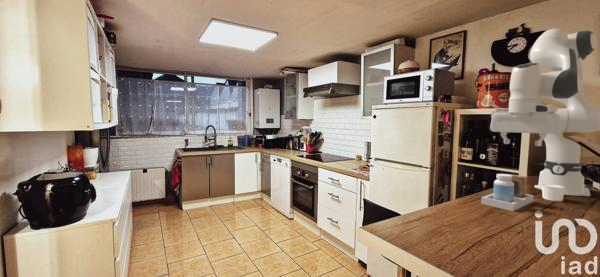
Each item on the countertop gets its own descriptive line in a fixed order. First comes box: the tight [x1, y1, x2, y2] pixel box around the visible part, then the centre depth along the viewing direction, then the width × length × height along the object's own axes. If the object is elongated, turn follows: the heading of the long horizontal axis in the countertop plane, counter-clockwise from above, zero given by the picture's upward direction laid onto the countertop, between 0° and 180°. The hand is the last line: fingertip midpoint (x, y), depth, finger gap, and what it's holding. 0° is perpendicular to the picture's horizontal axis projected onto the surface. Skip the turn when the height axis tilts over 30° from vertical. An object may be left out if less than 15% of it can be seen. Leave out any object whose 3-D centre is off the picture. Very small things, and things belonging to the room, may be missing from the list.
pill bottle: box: [493, 173, 514, 203], centre depth 98 cm, size 6×6×11 cm
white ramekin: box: [541, 184, 565, 202], centre depth 105 cm, size 7×7×7 cm
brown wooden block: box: [507, 173, 527, 198], centre depth 103 cm, size 6×6×10 cm
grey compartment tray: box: [480, 193, 535, 212], centre depth 101 cm, size 20×10×4 cm, turn 123°
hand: (521, 144), depth 98 cm, fingers open, 8 cm apart
